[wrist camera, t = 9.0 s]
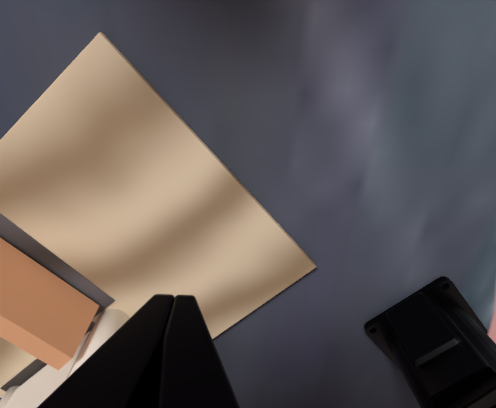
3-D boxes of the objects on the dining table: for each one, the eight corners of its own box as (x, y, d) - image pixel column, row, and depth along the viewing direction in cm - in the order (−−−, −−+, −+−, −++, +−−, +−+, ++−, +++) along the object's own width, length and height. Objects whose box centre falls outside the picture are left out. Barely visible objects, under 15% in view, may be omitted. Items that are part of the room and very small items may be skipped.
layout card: (314, 263, 21) (316, 267, 21) (73, 431, 27) (71, 437, 26) (102, 32, 16) (99, 32, 15) (-151, 306, 21) (-158, 311, 21)
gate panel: (-43, 202, 18) (-132, 250, 13) (102, 302, 21) (69, 368, 17) (-61, 223, 18) (-152, 277, 14) (84, 318, 21) (47, 387, 17)
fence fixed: (138, 316, 22) (111, 392, 17) (27, 401, 25) (-23, 487, 20) (114, 299, 22) (80, 372, 17) (4, 387, 24) (-55, 473, 19)
